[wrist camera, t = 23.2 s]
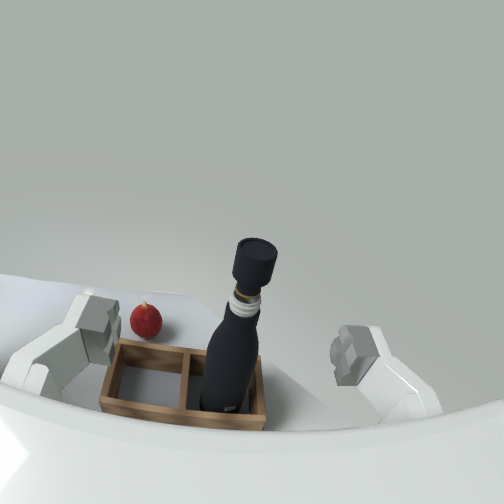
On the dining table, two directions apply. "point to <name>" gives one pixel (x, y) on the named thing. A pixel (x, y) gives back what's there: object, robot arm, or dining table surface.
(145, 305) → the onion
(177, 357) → the wooden divided box
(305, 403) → the dining table surface
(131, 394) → the mat
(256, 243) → the black water bottle
